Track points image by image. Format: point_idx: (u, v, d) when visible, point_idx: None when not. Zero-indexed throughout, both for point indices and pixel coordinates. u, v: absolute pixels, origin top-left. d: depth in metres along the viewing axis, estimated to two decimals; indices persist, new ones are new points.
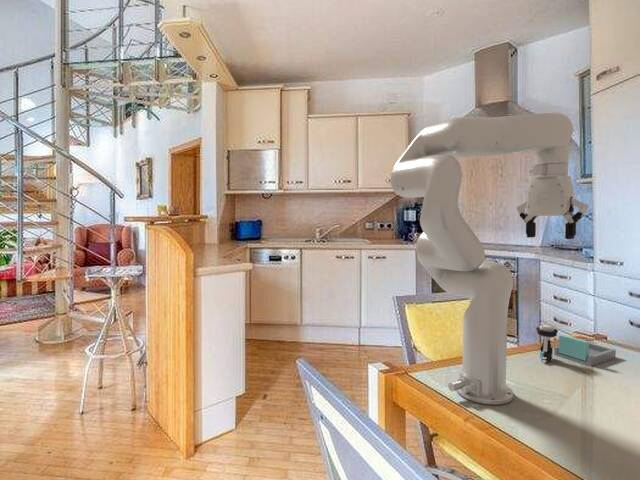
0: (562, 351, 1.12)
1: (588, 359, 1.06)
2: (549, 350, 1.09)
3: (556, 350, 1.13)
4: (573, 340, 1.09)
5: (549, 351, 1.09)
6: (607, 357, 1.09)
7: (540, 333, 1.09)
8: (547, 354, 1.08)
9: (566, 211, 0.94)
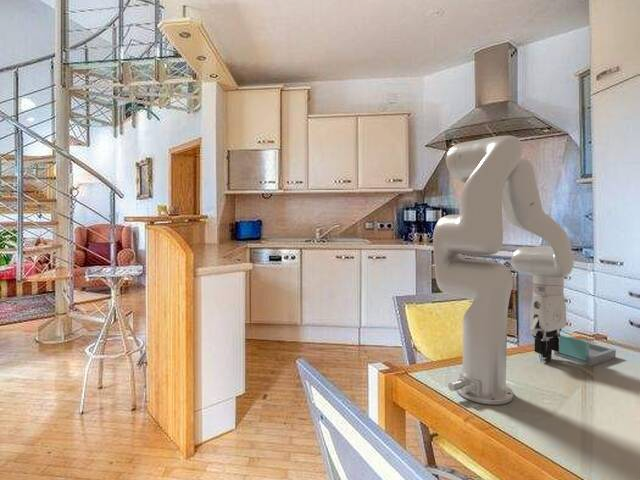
0: (562, 351, 1.12)
1: (588, 359, 1.06)
2: (548, 350, 1.09)
3: None
4: (573, 340, 1.09)
5: (548, 351, 1.09)
6: (607, 357, 1.09)
7: None
8: (546, 354, 1.08)
9: None
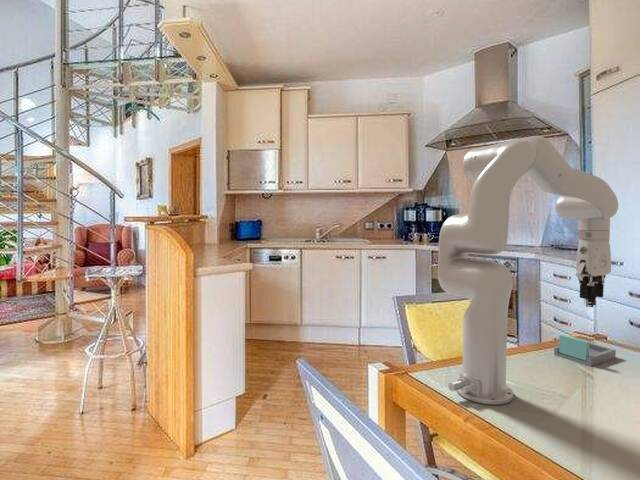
0: (562, 351, 1.12)
1: (588, 359, 1.06)
2: (593, 295, 1.12)
3: (556, 350, 1.13)
4: (573, 340, 1.09)
5: (593, 296, 1.12)
6: (607, 357, 1.09)
7: None
8: (592, 299, 1.11)
9: None
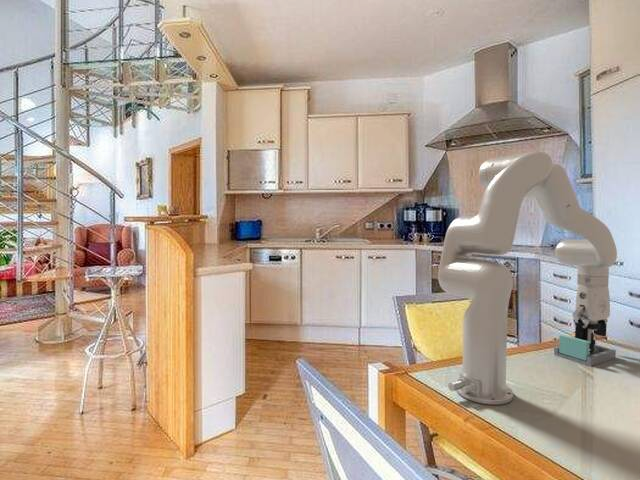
0: (562, 351, 1.12)
1: (588, 359, 1.06)
2: (592, 342, 1.12)
3: (556, 350, 1.13)
4: (573, 340, 1.09)
5: (592, 343, 1.12)
6: (607, 357, 1.09)
7: None
8: (591, 346, 1.12)
9: None
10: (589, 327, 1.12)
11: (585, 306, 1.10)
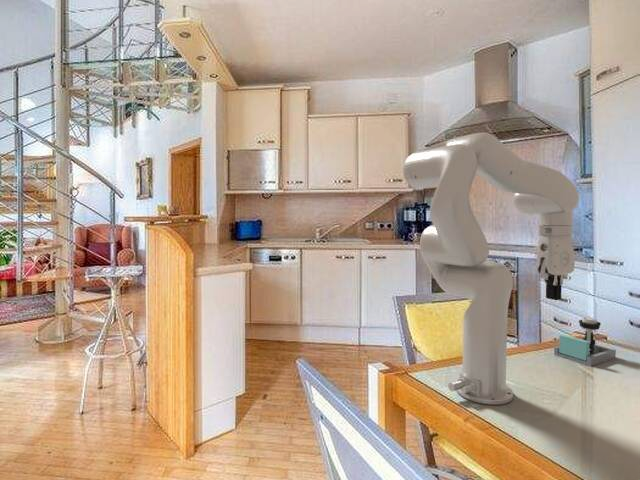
0: (562, 351, 1.12)
1: (588, 359, 1.06)
2: (592, 342, 1.12)
3: (556, 350, 1.13)
4: (573, 340, 1.09)
5: (592, 343, 1.12)
6: (607, 357, 1.09)
7: (583, 326, 1.13)
8: (590, 346, 1.12)
9: None
10: (589, 327, 1.12)
11: (546, 258, 1.00)
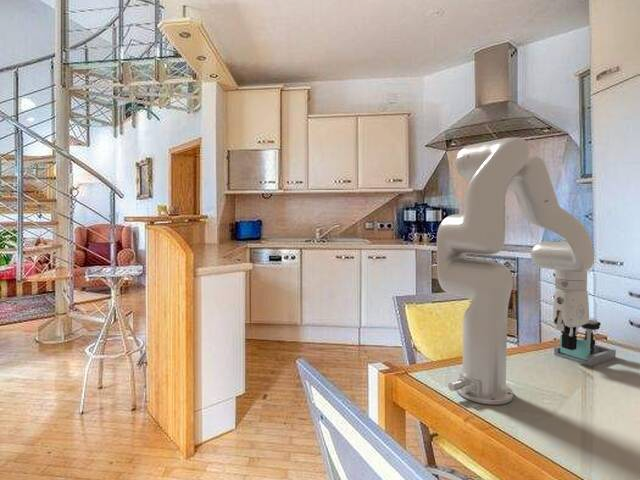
0: (563, 351, 1.12)
1: (588, 359, 1.06)
2: (592, 342, 1.12)
3: (556, 350, 1.13)
4: None
5: (592, 343, 1.12)
6: (607, 357, 1.09)
7: (583, 326, 1.13)
8: (590, 346, 1.12)
9: None
10: (589, 327, 1.12)
11: (562, 311, 1.05)
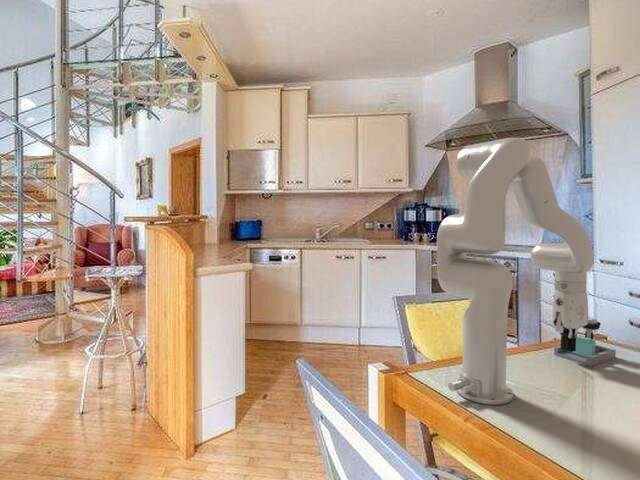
0: None
1: (588, 359, 1.06)
2: None
3: (556, 350, 1.13)
4: (579, 338, 1.10)
5: None
6: (607, 357, 1.09)
7: (583, 326, 1.13)
8: None
9: None
10: (589, 327, 1.12)
11: (562, 313, 1.05)
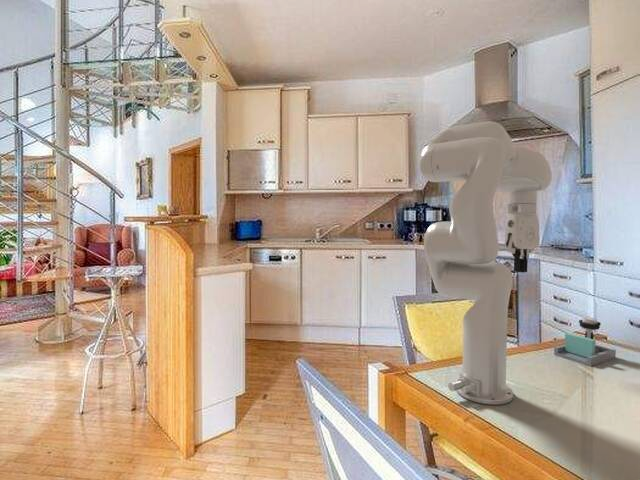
0: (568, 349, 1.13)
1: (588, 359, 1.06)
2: None
3: (556, 350, 1.13)
4: (579, 338, 1.10)
5: None
6: (607, 357, 1.09)
7: (583, 326, 1.13)
8: None
9: None
10: (589, 327, 1.12)
11: (513, 234, 1.10)
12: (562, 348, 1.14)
